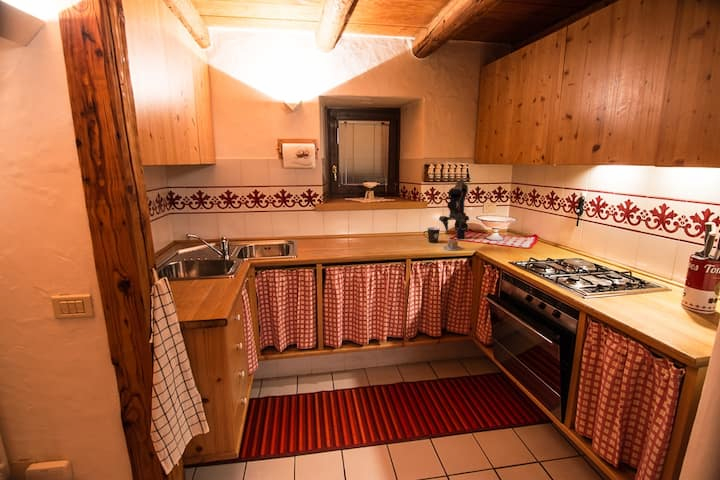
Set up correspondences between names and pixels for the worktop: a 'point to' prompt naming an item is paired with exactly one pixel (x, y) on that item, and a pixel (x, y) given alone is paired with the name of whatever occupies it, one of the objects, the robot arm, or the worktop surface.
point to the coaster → (452, 249)
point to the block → (453, 244)
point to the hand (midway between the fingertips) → (453, 231)
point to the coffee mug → (433, 234)
